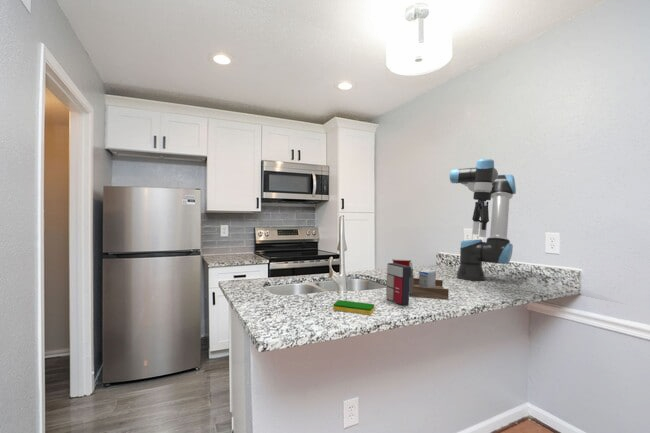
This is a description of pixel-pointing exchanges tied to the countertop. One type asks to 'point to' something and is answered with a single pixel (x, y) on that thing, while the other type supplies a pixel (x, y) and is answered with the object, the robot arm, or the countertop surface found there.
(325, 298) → the countertop surface
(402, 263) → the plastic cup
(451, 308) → the countertop surface
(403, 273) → the grey and red box
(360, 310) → the dish sponge
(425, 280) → the medicine box
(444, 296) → the wooden tray
